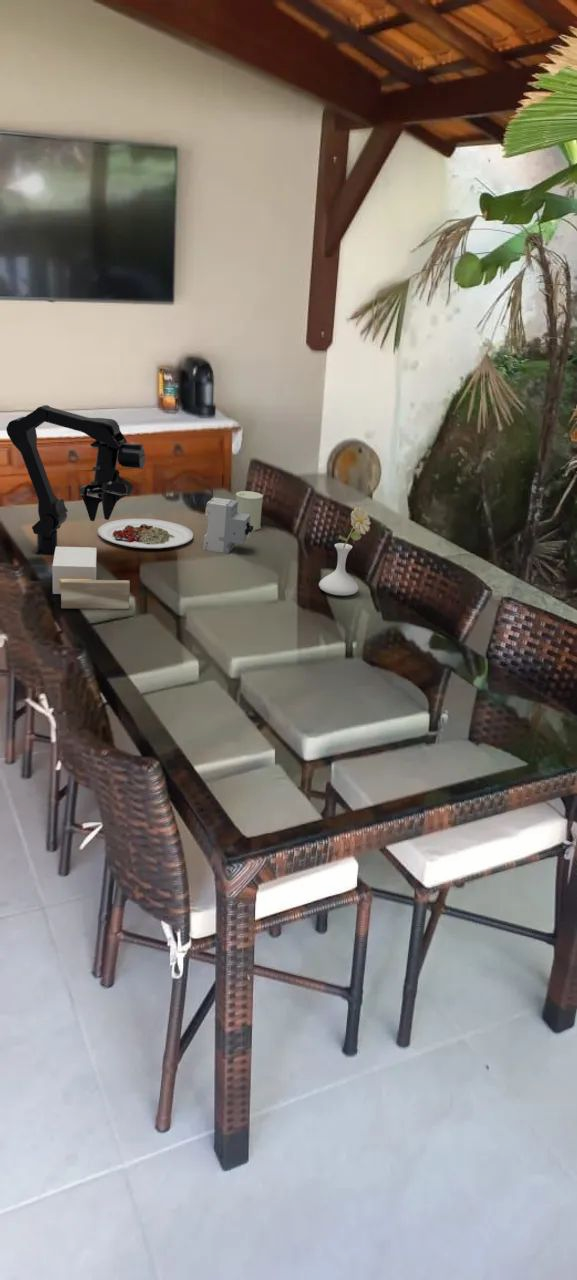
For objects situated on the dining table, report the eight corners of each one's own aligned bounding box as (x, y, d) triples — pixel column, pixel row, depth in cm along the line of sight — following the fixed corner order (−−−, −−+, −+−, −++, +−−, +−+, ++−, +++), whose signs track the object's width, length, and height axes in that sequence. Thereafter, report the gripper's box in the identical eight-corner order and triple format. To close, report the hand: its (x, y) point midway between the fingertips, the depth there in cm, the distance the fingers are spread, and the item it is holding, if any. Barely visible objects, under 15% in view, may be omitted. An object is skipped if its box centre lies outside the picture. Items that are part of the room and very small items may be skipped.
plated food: (211, 539, 299) (212, 529, 297) (151, 559, 275) (151, 548, 274) (141, 518, 313) (141, 508, 311) (77, 536, 289) (77, 525, 288)
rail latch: (59, 587, 238) (59, 578, 237) (91, 588, 240) (91, 579, 239) (59, 589, 237) (59, 580, 236) (91, 589, 238) (91, 580, 237)
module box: (56, 573, 257) (55, 546, 254) (96, 574, 259) (96, 547, 256) (52, 594, 242) (52, 565, 239) (95, 595, 245) (95, 567, 241)
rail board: (61, 604, 236) (61, 578, 233) (128, 604, 240) (129, 579, 237) (61, 608, 234) (61, 582, 231) (129, 608, 238) (129, 583, 235)
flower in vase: (330, 600, 256) (340, 513, 246) (311, 586, 265) (320, 502, 255) (370, 596, 262) (381, 511, 252) (349, 583, 271) (360, 500, 261)
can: (231, 523, 316) (233, 489, 311) (257, 523, 319) (260, 490, 314) (236, 531, 308) (238, 496, 303) (262, 532, 310) (265, 497, 306)
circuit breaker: (247, 556, 285) (251, 509, 279) (203, 549, 287) (205, 502, 281) (253, 549, 292) (256, 503, 286) (209, 542, 294) (212, 497, 288)
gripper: (147, 468, 256) (140, 524, 256) (117, 474, 271) (110, 526, 271) (111, 459, 250) (104, 516, 249) (82, 465, 264) (75, 519, 264)
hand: (99, 520), depth 259 cm, fingers open, 9 cm apart
